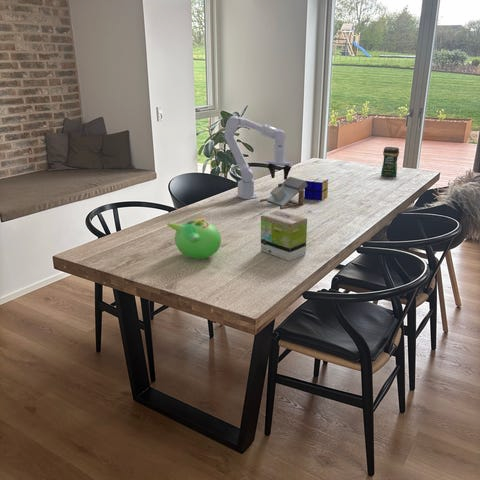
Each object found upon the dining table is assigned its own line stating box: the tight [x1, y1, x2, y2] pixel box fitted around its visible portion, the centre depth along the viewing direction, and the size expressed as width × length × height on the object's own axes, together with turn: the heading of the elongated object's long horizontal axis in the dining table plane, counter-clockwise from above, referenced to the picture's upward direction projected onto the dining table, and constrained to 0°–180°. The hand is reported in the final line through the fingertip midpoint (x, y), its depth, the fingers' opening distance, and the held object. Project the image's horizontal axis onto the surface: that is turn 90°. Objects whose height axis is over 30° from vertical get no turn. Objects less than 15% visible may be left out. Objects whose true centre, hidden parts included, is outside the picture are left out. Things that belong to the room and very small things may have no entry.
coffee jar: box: [380, 146, 400, 178], centre depth 314 cm, size 10×8×19 cm
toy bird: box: [166, 217, 222, 260], centre depth 182 cm, size 18×17×15 cm
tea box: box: [260, 210, 308, 262], centre depth 184 cm, size 15×10×15 cm, turn 45°
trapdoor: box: [266, 176, 308, 207], centre depth 256 cm, size 16×18×3 cm
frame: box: [259, 182, 305, 210], centre depth 255 cm, size 19×14×8 cm
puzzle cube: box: [303, 177, 329, 202], centre depth 264 cm, size 10×10×10 cm
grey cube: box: [270, 186, 286, 201], centre depth 253 cm, size 5×5×5 cm
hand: (279, 178), depth 264 cm, fingers open, 7 cm apart
